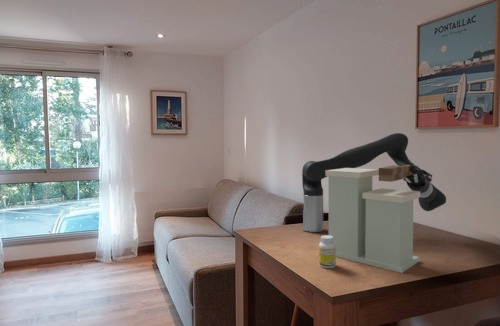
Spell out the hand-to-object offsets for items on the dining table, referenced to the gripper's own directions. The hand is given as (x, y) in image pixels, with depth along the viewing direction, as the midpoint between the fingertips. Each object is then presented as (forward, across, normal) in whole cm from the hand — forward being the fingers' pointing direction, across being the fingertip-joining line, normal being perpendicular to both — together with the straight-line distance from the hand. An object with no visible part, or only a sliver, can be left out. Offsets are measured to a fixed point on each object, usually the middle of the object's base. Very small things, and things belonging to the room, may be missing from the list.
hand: (405, 166), depth 133 cm
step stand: (-6, -8, +35) cm, 36 cm away
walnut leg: (+4, 0, +6) cm, 7 cm away
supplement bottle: (+10, -15, +44) cm, 47 cm away
